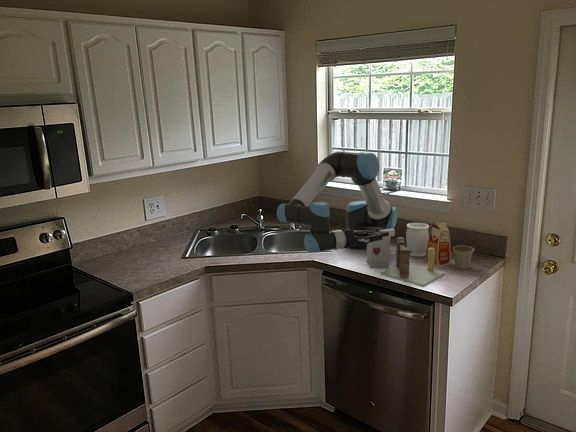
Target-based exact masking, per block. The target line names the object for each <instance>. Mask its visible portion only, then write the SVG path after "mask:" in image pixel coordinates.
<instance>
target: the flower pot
mask: <svg viewBox="0 0 576 432" xmlns="http://www.w3.org/2000/svg"><path fill="white" fill-rule="evenodd" d="M451 248H452V250H453V251H452V252H453V258H454V267H455V268H457V269H463V270H467V269H469V268H470V266H471V261H472V256H473V254H474V252H475V248H474V247H472V246H467V245H456V246H453V247H451Z"/></svg>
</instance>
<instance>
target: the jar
mask: <svg viewBox="0 0 576 432" xmlns="http://www.w3.org/2000/svg"><path fill="white" fill-rule="evenodd" d="M429 228H430V225H429V224H428V223H424V222H410V223H407V224H406V235H405V238H406V239H405V240H406V246H407V247H406V248H409V250H412V252H413V253H412V254H410V256H411V257H415V258H416V257H420V258H421V257H424V256H426V251H427V246H428V242H429V238H430V234H429Z"/></svg>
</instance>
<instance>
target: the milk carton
mask: <svg viewBox="0 0 576 432" xmlns="http://www.w3.org/2000/svg"><path fill="white" fill-rule="evenodd" d="M449 230H450V229H449V228H448V226H447V222H437V221H436V222H435V225H433V226H432V229H431V231H430V234H429V239H428V244H427V248H426V250H425V253H426V255H425V257H424V262H425V263H427V264H428V248H435V258H434V267H437V268H441V267H444V266H448V265H451V263H452V251H451V248H452V246H451V238H450V237H451V236H450V231H449Z"/></svg>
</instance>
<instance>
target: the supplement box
mask: <svg viewBox="0 0 576 432" xmlns="http://www.w3.org/2000/svg"><path fill="white" fill-rule="evenodd" d="M390 256H391V236H390V237H383V239H382V240H378V241H374V242H370V243H368V244H367V248H366V263H367V265H368V267H369V268H370V269H382V268H385V269H387V268H388V269H389V268H390V260H391V259H390V258H391V257H390Z"/></svg>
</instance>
